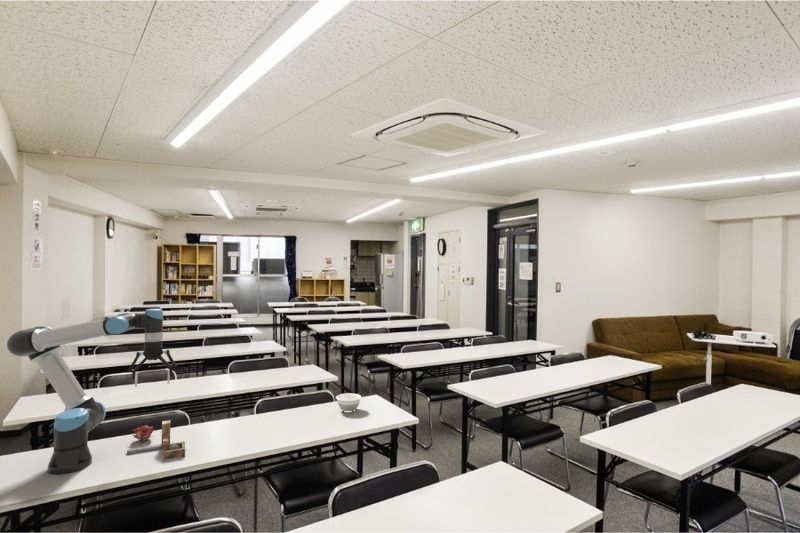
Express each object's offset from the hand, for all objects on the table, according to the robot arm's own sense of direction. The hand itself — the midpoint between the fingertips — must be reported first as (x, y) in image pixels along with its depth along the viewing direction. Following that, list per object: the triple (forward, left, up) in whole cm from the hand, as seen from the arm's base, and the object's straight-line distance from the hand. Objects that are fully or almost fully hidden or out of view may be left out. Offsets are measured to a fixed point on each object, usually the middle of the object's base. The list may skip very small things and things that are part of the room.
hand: (152, 384), depth 201 cm
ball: (+10, -12, -28) cm, 33 cm away
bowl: (+106, +10, -31) cm, 111 cm away
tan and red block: (+6, -7, -30) cm, 32 cm away
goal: (+10, -12, -31) cm, 35 cm away
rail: (-1, -2, -31) cm, 31 cm away
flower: (-4, +12, -31) cm, 33 cm away
